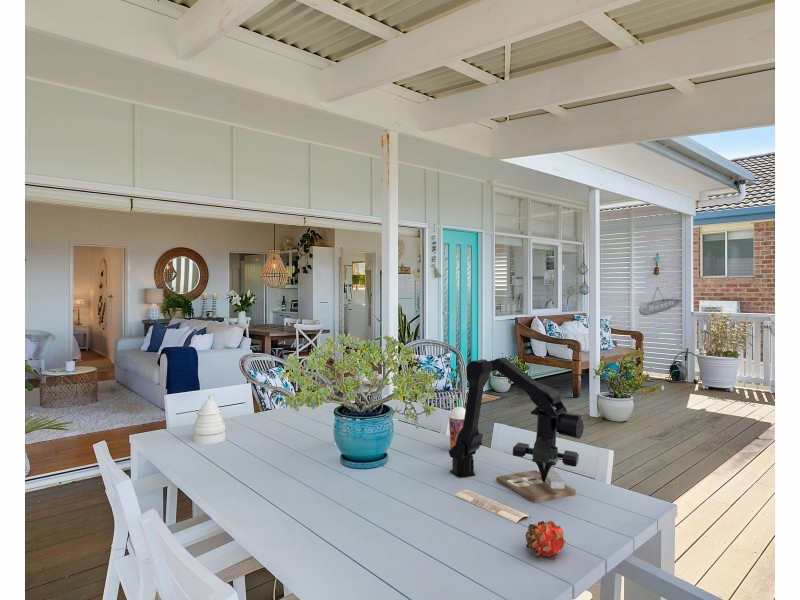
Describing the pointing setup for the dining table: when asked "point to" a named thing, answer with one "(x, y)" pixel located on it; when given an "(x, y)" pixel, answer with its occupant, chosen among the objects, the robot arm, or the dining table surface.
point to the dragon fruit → (545, 539)
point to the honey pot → (209, 424)
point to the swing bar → (554, 479)
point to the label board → (533, 486)
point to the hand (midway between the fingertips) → (543, 482)
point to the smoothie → (456, 423)
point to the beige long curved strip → (491, 506)
